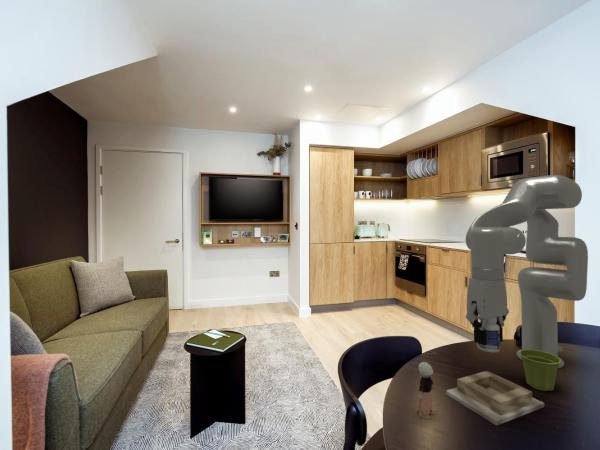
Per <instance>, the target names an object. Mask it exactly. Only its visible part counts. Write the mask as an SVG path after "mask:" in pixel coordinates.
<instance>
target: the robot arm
mask: <svg viewBox="0 0 600 450" xmlns="http://www.w3.org/2000/svg"><path fill="white" fill-rule="evenodd" d="M582 199H583V191H582V189H581V187H580V186H579V184H578V183H577V182H576V181H574V180H573V179H571V178H570V177H567V176H565V175H561V174H550V175H541V176H532V177H525V178H521V179H519V180H517V181H515V182H514V184H513V185H512V187H511V188H510V190H509V191H508V193H507V195H506V196H505V198H504V200H503V201H502V203H500V204H498V205H496V206H494V207H492V208H490V209H488V210H485V212H482V213H481V214H479V215H478V216H477V217H476V218H475V219H474V220H473V222H471V224H470V226H469V228H467V232H466V235H465V245H466V247H467V249H468V250H470V261H471V262H470V266H471V267H470V272H471V273H470V274H471V275H470V276H471V277H470V279H469V280H468V286H467V292H466V293H467V294H466V315H465V319H467V321H468V322H469V323H470V324H471V327H472V328H473V341H474V342H475V343H476V344H477V343H479V344H481V345H484V346H485V345H487V334H486V330H484V329H485V324H486V319H489V318H494V317H497V322H496V324H497V325H498V326H499V327H500V343H502V342H503V341H504V337H503V332H504V331H503V330H504V329H503V327H505V321H506V319H507V318H506V317H507V316H508V315H509V313H510V310H509V309H508V293H507V288H506V282H505V255H516V254H519V253H521V252H522V251H523V249H524V248H525V258H526V259H527V261H529V262H530V263H533V264H540V265H549V266H550V265H551V266H561V267H562V266H564V267H566V269H559V268H549V267H537V266H531V267H530V266H528V267H525V268H522V269H521V270H519V272H518V273H517V282H518V287H519V293H520V301H521V349H519V350H517V351H516V357H517V358H518V359H520V360H521V361H523V360H522V358H521V356H520V354H519V351H520V350H524V349H532V350H539V351H544V352H547V353H550V354H553V355H555V356H557V357H559V355H558V354H559V353H560V352H563V350H564V348H563V347H562V346H561V345H558V344H559V343H558V337H559V336H558V311H557V308H556V306H555V305H554V303H553V302H552V301H551V300H550V299H559V300H564V301H574V302H576V301H577V302H579V301H582V300H583V299H585V297H586V293H587V289H588V288H587V287H588V270H589V269H588V267H589V266H588V263H589V251H588V246H587V243H586V242H585V241H584V240H583V239H582V238H579V237H574V236H559V227H560V225H559V222H558V220H557V219H556V217H555V216H553V215H552V214H551V213H550V212H549V211H548V210H558V209H559V210H560V209H574V208H576V207H577V206H579V204H580V203H581V201H582ZM525 222H526V223H527V226H526V236H525V234H524V233H523V231H522V230H521V229H519V228H516V227H514V226H518V225H521V224H523V223H525ZM479 314H480V317H479ZM479 319H481V323H479V322H480V321H479ZM559 358H560V357H559ZM560 359H561V363H560V364H559V367H558V368H557V369H562V368H563V367H565V362H564V360H563V358H560Z"/></svg>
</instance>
